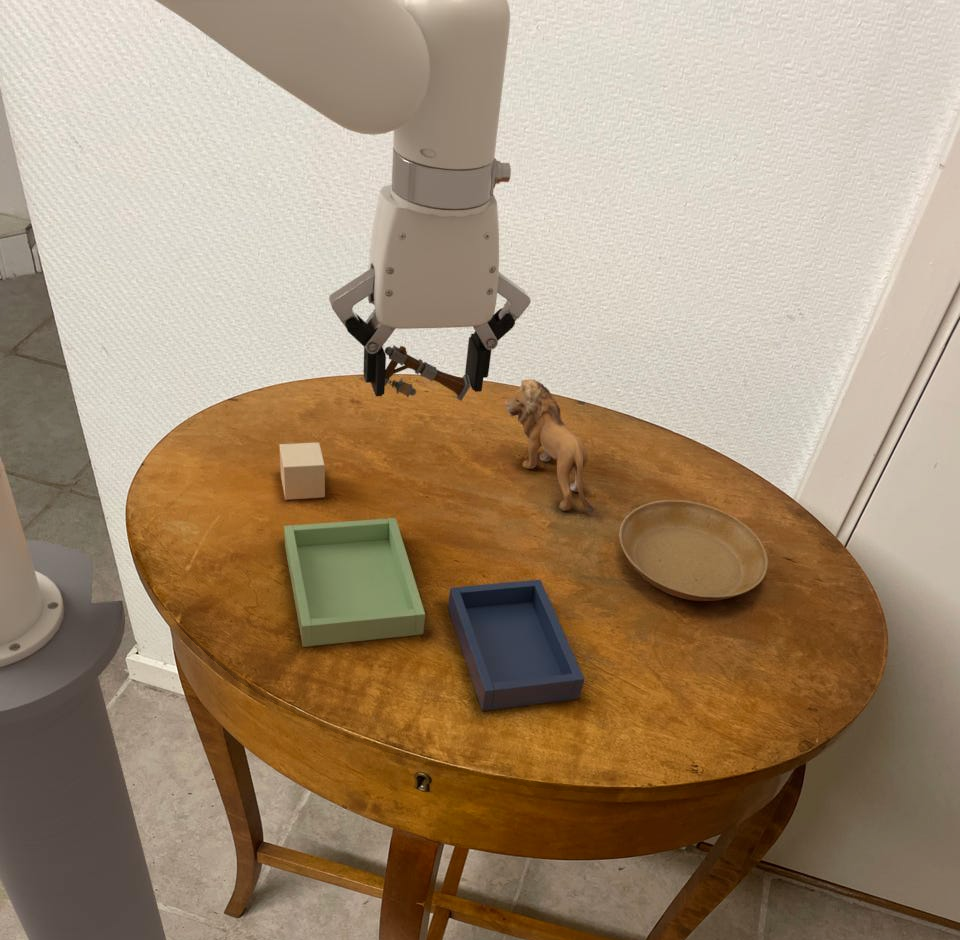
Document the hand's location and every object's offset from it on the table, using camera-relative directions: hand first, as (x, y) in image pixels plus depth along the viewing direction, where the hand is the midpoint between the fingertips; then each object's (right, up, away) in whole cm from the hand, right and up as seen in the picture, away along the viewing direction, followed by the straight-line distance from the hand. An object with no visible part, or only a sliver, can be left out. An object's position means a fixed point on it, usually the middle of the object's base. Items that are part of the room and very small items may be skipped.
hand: (425, 385), depth 83 cm
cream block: (-13, -7, +14) cm, 20 cm away
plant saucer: (+26, -15, +12) cm, 32 cm away
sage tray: (-7, -18, +4) cm, 19 cm away
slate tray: (+8, -23, 0) cm, 25 cm away
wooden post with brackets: (0, -1, +1) cm, 1 cm away
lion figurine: (+12, -5, +20) cm, 24 cm away
